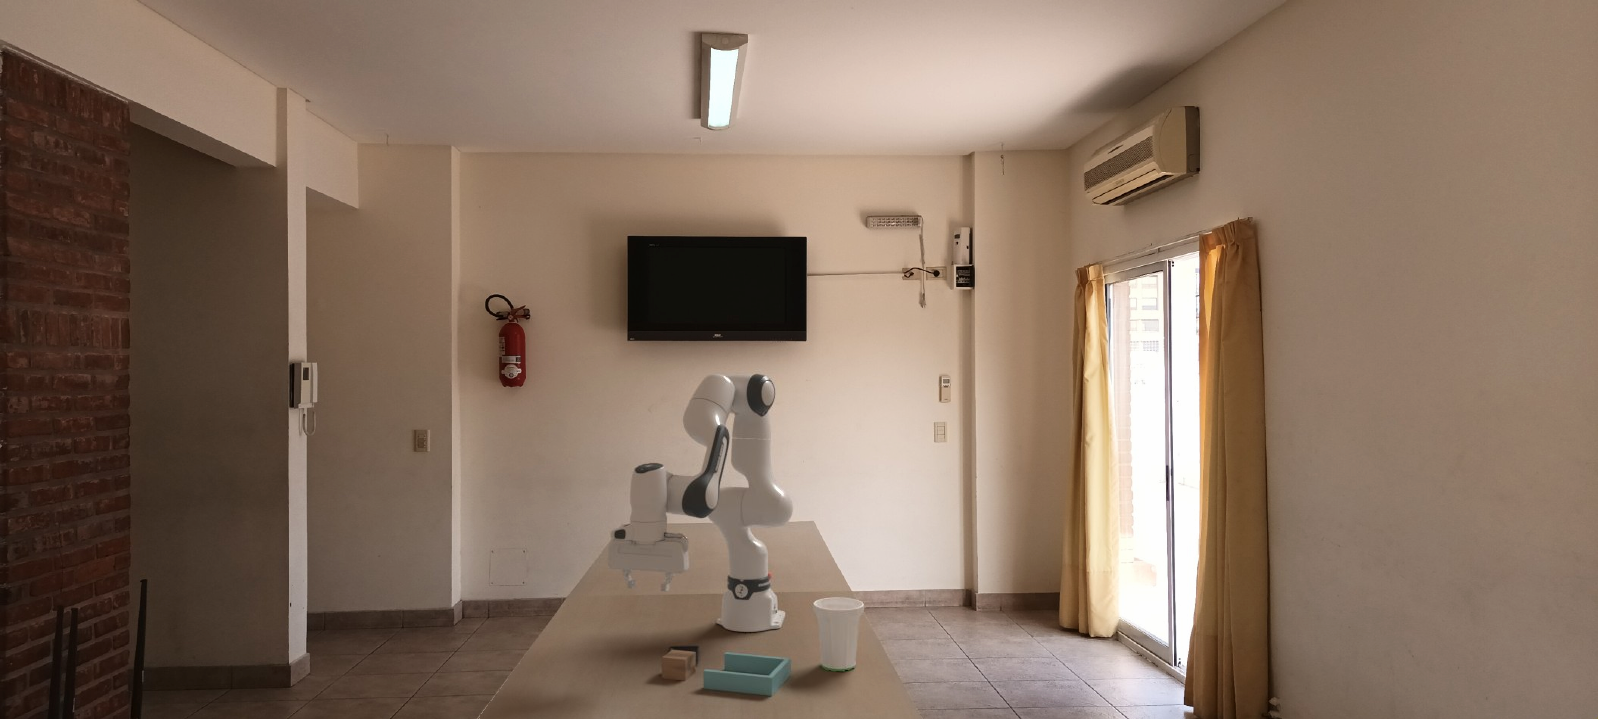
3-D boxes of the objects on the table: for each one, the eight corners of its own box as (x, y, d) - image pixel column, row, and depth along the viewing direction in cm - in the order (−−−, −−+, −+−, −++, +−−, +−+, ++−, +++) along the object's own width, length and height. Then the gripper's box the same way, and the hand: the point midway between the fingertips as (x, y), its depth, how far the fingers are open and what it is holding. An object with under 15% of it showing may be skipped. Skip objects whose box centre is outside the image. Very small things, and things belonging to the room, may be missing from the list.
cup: (802, 665, 225) (802, 603, 225) (837, 654, 234) (837, 594, 234) (839, 678, 216) (839, 612, 216) (874, 666, 225) (874, 603, 225)
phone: (664, 664, 223) (669, 646, 238) (664, 669, 223) (669, 650, 238) (697, 664, 224) (700, 645, 239) (697, 668, 224) (700, 649, 239)
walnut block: (672, 670, 222) (672, 649, 222) (695, 672, 220) (695, 651, 220) (661, 678, 216) (662, 657, 216) (685, 680, 214) (685, 659, 214)
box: (726, 668, 223) (726, 652, 223) (790, 675, 218) (790, 658, 218) (703, 688, 209) (703, 670, 209) (772, 695, 204) (772, 677, 204)
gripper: (693, 531, 221) (693, 589, 221) (616, 527, 227) (616, 583, 227) (683, 536, 215) (682, 595, 215) (604, 531, 221) (603, 589, 221)
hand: (647, 589), depth 221 cm, fingers open, 8 cm apart
